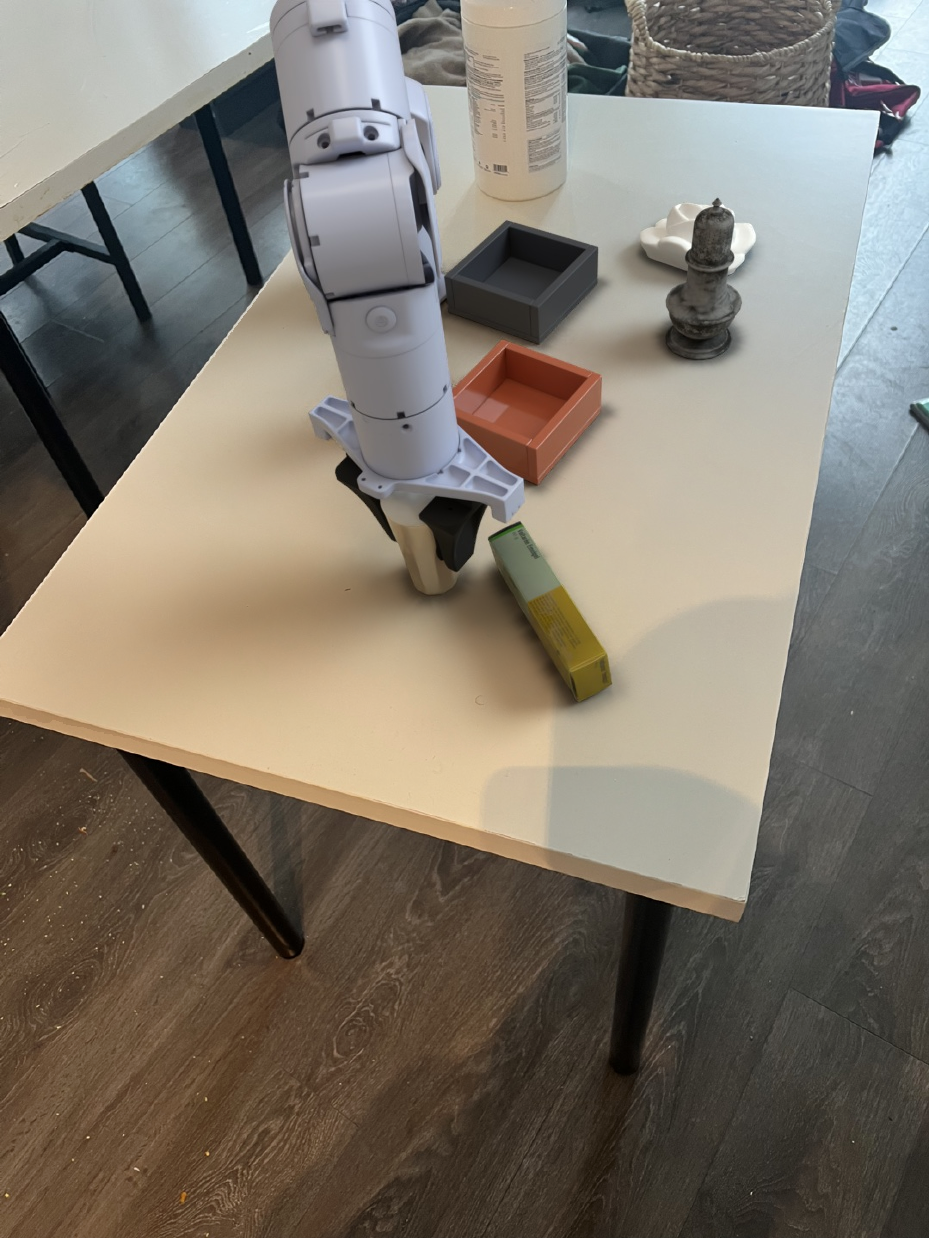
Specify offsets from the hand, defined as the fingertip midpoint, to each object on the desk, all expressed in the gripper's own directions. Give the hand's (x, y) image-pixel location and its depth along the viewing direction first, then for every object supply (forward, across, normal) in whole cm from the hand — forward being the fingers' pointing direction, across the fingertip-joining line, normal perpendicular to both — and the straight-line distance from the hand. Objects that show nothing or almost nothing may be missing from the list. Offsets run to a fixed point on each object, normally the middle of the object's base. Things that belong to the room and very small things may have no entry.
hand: (431, 545), depth 58 cm
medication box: (+3, +9, 0) cm, 10 cm away
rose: (+3, -2, +42) cm, 42 cm away
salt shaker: (+3, +4, +31) cm, 31 cm away
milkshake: (+3, 0, 0) cm, 3 cm away
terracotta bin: (+3, -3, +15) cm, 16 cm away
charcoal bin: (+3, -12, +29) cm, 32 cm away
